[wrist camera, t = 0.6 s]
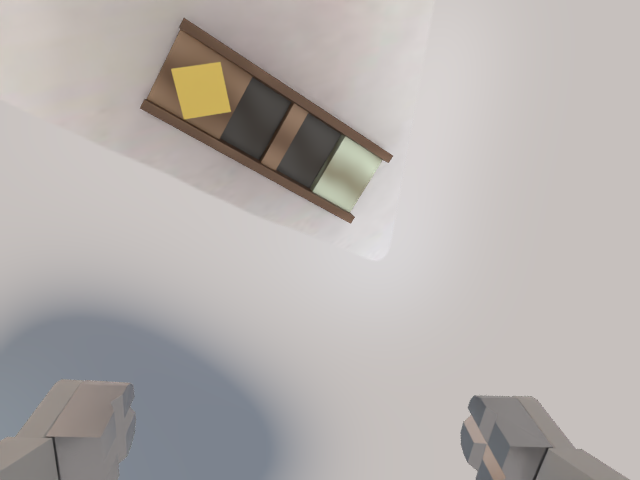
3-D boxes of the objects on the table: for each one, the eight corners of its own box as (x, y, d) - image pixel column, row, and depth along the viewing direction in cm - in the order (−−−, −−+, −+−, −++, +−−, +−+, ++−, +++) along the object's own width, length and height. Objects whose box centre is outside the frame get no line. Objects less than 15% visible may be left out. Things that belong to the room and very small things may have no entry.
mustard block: (179, 71, 44) (170, 68, 34) (217, 66, 45) (220, 61, 34) (189, 110, 46) (183, 119, 35) (225, 104, 47) (231, 111, 36)
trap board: (185, 22, 45) (183, 17, 41) (380, 150, 55) (393, 155, 52) (145, 106, 47) (140, 108, 43) (341, 214, 57) (350, 223, 54)
